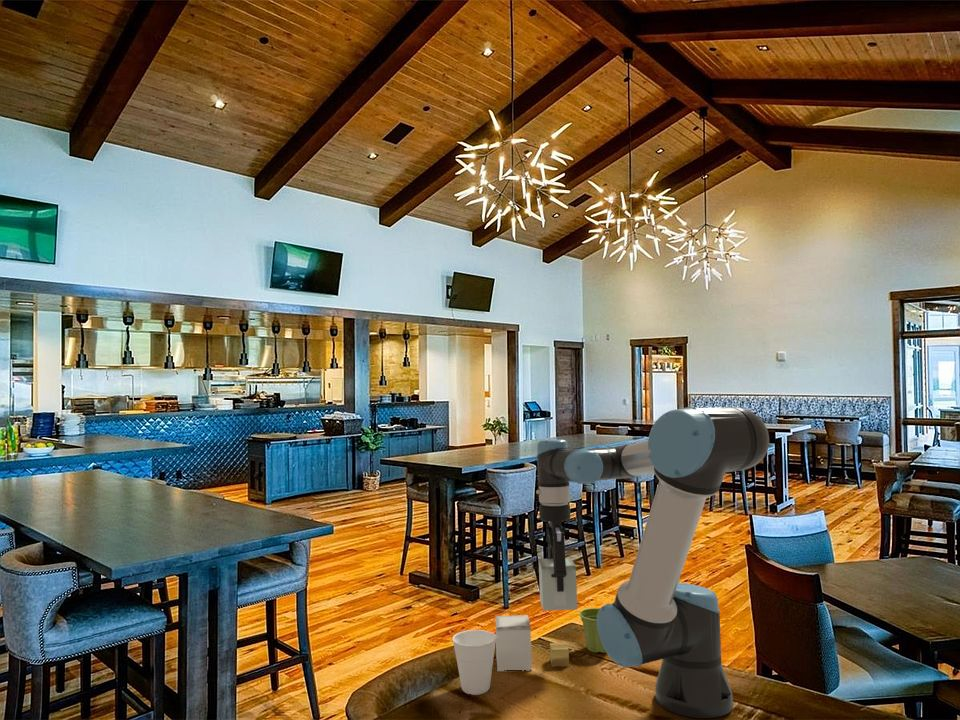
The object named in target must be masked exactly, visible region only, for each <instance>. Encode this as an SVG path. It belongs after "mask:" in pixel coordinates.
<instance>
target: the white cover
mask: <svg viewBox="0 0 960 720" xmlns="http://www.w3.org/2000/svg"><path fill="white" fill-rule="evenodd" d="M494 617H495V635H496V636H497V640H496V643H495V649H496V652H495V653H496V654H495V656H496V669H497V672H507V671H506V670H522V671H521V672H526V671H529V672H531V671H530V670H533V665H532V664H533V663H532V661H533V660H532V635H531V633H532V631H531V624H530V623H531V622H530V618H529V615H527V614H525V615H523V614H522V615H520V614H519V615H518V614H517V615H516V614H515V615H495V616H494ZM504 670H505V671H504ZM524 670H526V671H524Z"/></svg>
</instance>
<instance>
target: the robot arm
mask: <svg viewBox="0 0 960 720" xmlns="http://www.w3.org/2000/svg"><path fill="white" fill-rule="evenodd" d="M568 446H569V445H568V441H567V440H565V439H541V440H539V441H538V442H537V446H536V447H537V450H536V451H537V454H536V458H537V462H536V465H537V479H538V480H537V483H538V489H537V490H536V494H537V495H538V502H539V503H541V504H539V506H538V510H539V511H538V513H539V514H538V515H539V520H541V521H542V522H547V523H546V535H547V551H548V552H547V554H548V555H547V559H553V564H554V574H552V575H551V577H554V604H555V606H557V605H566V581H565V576H566V575H567V572H566V561H565V558H566V548H565V546H566V544H565V536H566V532H565V531H566V530H565V528H564V526H562V522H568V521H569V520H570V519H571V505H570V504H569V502H571V490H570V488H571V487H570V483H571V482H572V483H575V484H576V483H577V484H579V485H582V484H585V485H586V484H588V485H589V484H594V483H595V482H597V481H608V480H621V479H634V478H637V477H638V478H639V477H641V476H645V475H647V476H648V475H652V474H653V475H655V476H656V478H657V479H658V483H657V488H656V490H655V494H654V497H653V500H652V504H651V506H650V507H651V508H650V511H649V514H648V517H647V519H646V523H645V527H644V530H643V533H642V538H641V539H640V542H639V543H640V544H639V547H638V550H637V553H636V557H635V560H634V563H633V566H632V570H631V574H630V576H629V579H628V580H627V581H624V582H622V583H621V584H620V585H619V587H618V588H617V591H616V595H615V598H614V601H613V602H612V603H606V604H605V605H602V606H601V607H600V609H599V611H598V614H597V629H598V634H599V636H600V640H601V643H602V645H603V647H604V649H605V651H606V655H608V657H609V658H610V659H611V660H612V661H613V662H614V663H615V664H616V665H618V666H620V667H623V668H631V667H641V666H643V665H645V664H648V663H654V662H656V661H660V660H662V661H661V664H660V667H659V668H660V669H659V671H658V674H657V678H656V682H655V687H654V688H655V689H654V692H655V700H656V702H657V703H658V704H659V705H660V706H661V707H662V708H663V709H665V710H667V711H669V712H671V713H673V714H676V715H680V716H683V717H688V718H693V719H695V718H696V719H712V718H720V717H723V716H726V715H728V714H729V713H730V712H732V710H733V708H734V701H733V698H734V697H733V696H734V695H733V693H732V689H731V686H730V684H729V681H728V678H727V676H726V672H725V670H724V667H723V663H722V641H721V639H722V638H721V619H720V618H721V617H720V615H721V610H720V608H719V607H720V606H719V599H718V596H717V594H716V593H715V592H714V591H713V590H711V589H709V588H708V587H703V586H701V585H697V584H691V583H686V582H680V578H681V575H682V572H683V569H684V566H685V563H686V561H687V557H688V554H689V551H690V548H691V545H692V542H693V540H694V538H695V537H694V536H695V533H696V530H697V528H698V524H699V521H700V519H701V515H702V513H703V509H704V506H705V504H706V500H707V498H709V497H712V496H715V495H717V494H718V493H719V491H720V487H721V485H722V482H723V479H724V476H725V474H726V473H730V472H731V473H732V472H740V471H745V470H749V469H751V468H754V467H755V466H757V465H758V464H759V463H760V462H762V461H763V459H764V458H765V457H766V455H767V453H768V451H769V447H770V435H769V431H768V428H767V426H766V424H765V423H764V422H763V419H761V418H760V416H758V415H756V413H754V412H752V411H751V410H749V409H746V408H742V407H737V406H725V407H723V406H721V407H695V406H694V407H692V406H689V407H688V406H687V407H682V408H678V409H673V410H669V411H667V412H665V413H663V414H662V415H660V416H659V417H658V418H657V419H656V421H654V423H653V425H652V427H651V429H650V432H649V434H648V439H647V440H643V441H637V442H634V443H629V444H624V445H620V446H612V447H595V448H594V447H593V448H579V449H578V448H577V449H576V448H575V449H574V448H570V449H569V447H568ZM558 570H562V571H558Z"/></svg>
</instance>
